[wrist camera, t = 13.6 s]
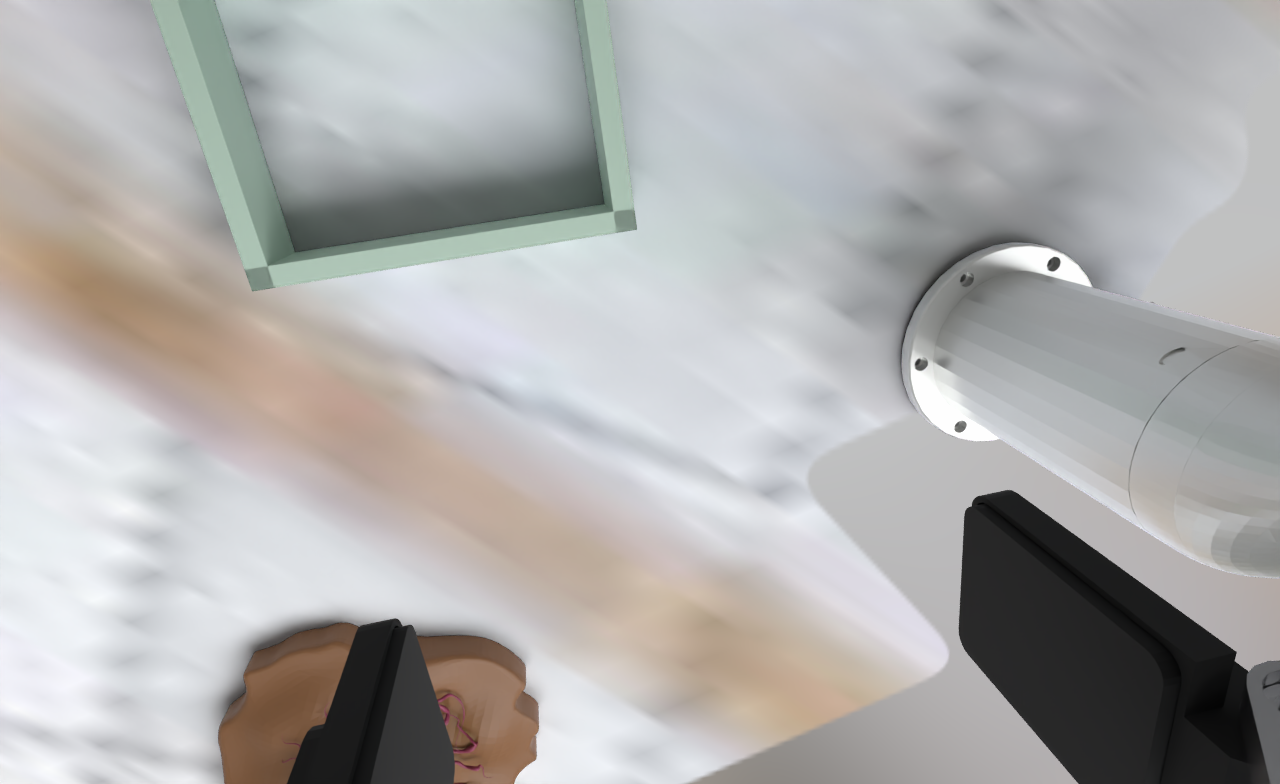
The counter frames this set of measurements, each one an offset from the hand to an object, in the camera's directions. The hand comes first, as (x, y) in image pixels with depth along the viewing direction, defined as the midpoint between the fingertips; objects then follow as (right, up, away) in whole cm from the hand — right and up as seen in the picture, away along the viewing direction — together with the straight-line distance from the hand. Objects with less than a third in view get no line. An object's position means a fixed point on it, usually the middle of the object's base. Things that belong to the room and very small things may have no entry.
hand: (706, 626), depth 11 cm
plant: (-19, -20, +36) cm, 45 cm away
